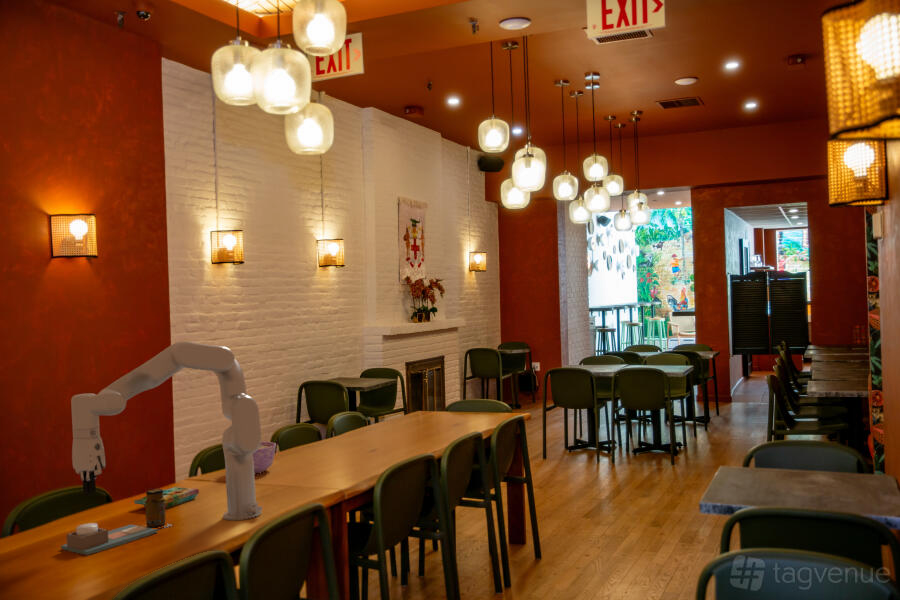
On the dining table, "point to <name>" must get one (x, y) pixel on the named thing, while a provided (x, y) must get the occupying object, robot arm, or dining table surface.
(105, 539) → the board
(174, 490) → the puzzle game
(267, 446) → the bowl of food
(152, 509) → the condiment
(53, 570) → the dining table surface
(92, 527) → the dome
